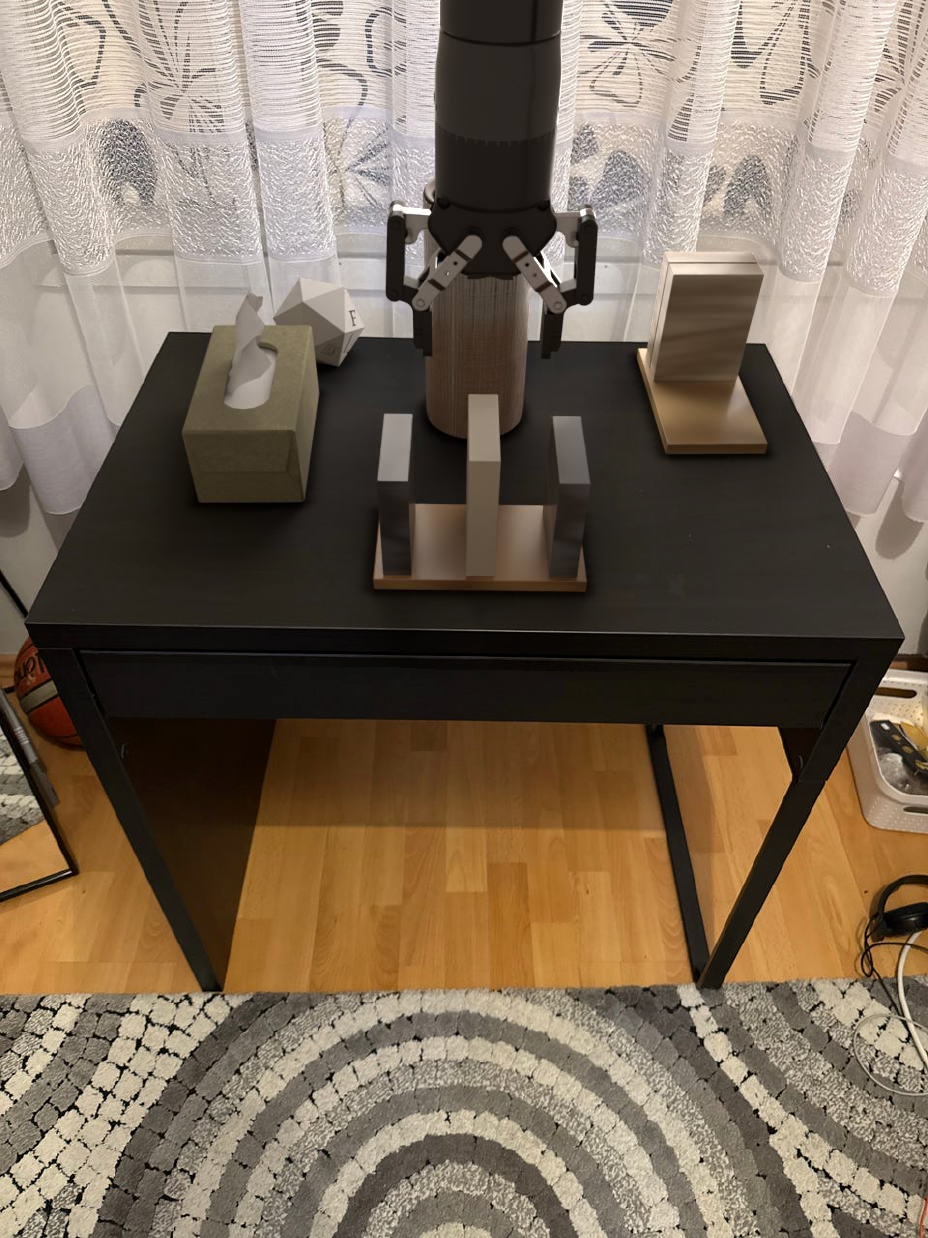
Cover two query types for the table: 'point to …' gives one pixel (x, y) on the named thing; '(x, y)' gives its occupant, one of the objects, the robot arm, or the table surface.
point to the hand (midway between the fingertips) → (486, 352)
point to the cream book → (482, 484)
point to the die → (323, 317)
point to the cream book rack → (703, 353)
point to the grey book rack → (526, 534)
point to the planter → (476, 345)
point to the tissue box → (253, 411)
